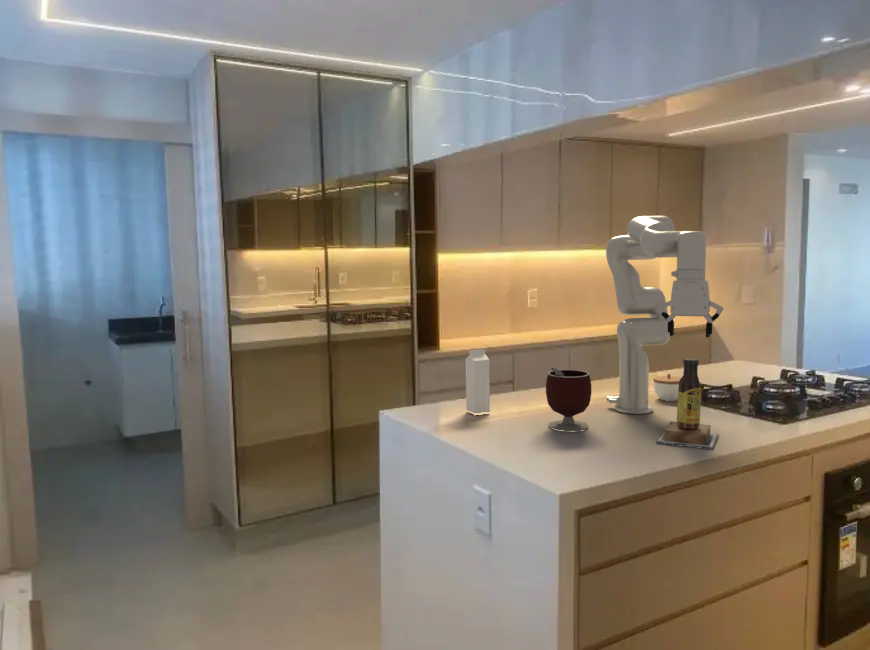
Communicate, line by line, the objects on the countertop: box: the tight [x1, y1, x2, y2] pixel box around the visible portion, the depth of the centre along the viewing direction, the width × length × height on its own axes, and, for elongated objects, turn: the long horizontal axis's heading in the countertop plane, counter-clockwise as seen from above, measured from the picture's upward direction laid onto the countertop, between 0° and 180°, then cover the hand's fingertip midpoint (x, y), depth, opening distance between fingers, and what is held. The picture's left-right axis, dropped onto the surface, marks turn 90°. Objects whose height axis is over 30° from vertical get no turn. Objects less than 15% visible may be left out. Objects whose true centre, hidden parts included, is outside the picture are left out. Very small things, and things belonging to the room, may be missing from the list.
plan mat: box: [655, 420, 719, 450], centre depth 195 cm, size 15×15×4 cm
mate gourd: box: [545, 367, 592, 431], centre depth 211 cm, size 16×14×20 cm
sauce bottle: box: [676, 357, 702, 429], centre depth 194 cm, size 6×6×20 cm
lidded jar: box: [653, 373, 682, 402], centre depth 248 cm, size 11×11×9 cm
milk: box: [465, 348, 491, 413], centre depth 231 cm, size 6×6×22 cm
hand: (689, 336), depth 193 cm, fingers open, 9 cm apart
